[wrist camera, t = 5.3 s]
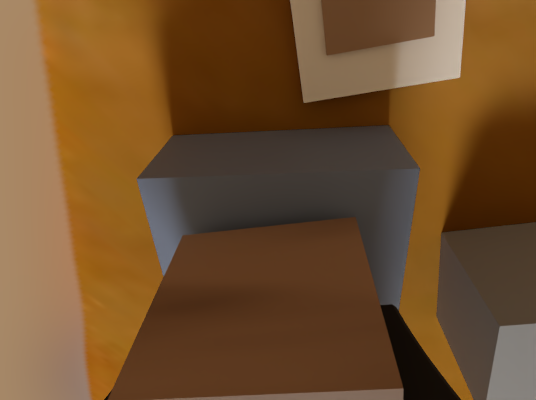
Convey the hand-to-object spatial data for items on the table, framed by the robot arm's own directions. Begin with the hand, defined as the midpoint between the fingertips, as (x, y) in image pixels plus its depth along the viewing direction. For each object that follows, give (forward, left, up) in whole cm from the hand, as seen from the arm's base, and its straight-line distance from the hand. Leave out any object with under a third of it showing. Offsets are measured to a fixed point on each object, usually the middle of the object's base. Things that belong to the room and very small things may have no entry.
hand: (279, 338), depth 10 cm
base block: (0, 0, -6) cm, 6 cm away
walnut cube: (0, 0, -2) cm, 2 cm away
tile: (+8, -4, -6) cm, 11 cm away
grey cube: (-4, -9, -6) cm, 12 cm away
